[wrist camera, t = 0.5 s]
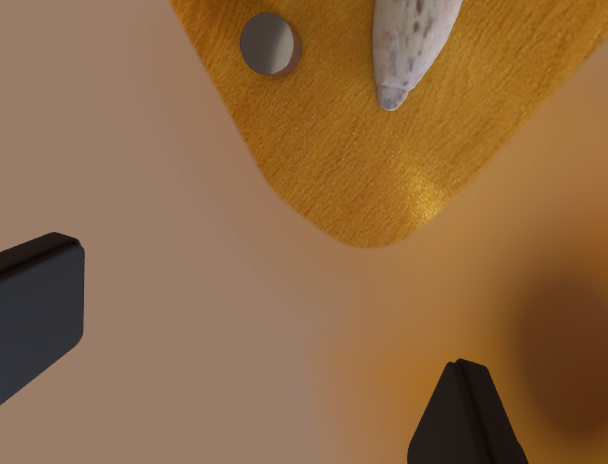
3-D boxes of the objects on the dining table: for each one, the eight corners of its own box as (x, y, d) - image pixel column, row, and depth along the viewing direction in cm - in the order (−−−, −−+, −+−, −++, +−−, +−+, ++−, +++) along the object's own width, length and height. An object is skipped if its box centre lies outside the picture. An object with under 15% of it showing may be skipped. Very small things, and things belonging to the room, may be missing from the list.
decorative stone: (353, 102, 32) (350, 103, 29) (405, -122, 27) (408, -152, 23) (424, 117, 31) (429, 119, 28) (492, -110, 26) (508, -139, 23)
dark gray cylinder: (279, 8, 31) (269, -2, 28) (311, 52, 31) (305, 48, 29) (242, 46, 32) (229, 40, 30) (273, 87, 33) (264, 86, 30)
